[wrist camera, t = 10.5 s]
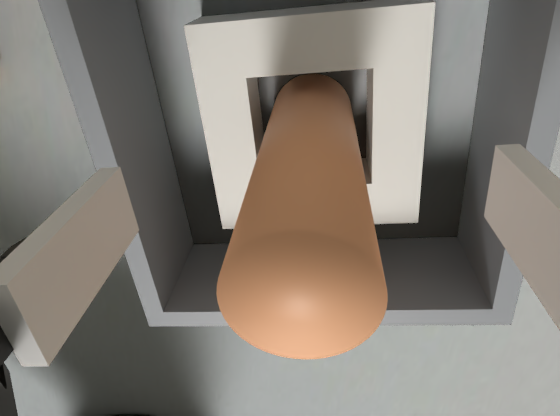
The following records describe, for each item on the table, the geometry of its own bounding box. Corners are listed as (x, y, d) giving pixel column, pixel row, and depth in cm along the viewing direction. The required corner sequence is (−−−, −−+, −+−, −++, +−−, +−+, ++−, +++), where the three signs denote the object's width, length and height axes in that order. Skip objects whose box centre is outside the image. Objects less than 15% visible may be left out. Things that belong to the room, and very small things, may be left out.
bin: (181, 257, 28) (149, 326, 22) (95, -75, 19) (8, -86, 13) (473, 250, 25) (511, 324, 20) (534, -130, 16) (631, -169, 11)
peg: (277, 150, 23) (230, 359, 11) (269, 76, 21) (202, 232, 9) (351, 146, 23) (385, 359, 11) (351, 70, 21) (391, 226, 9)
